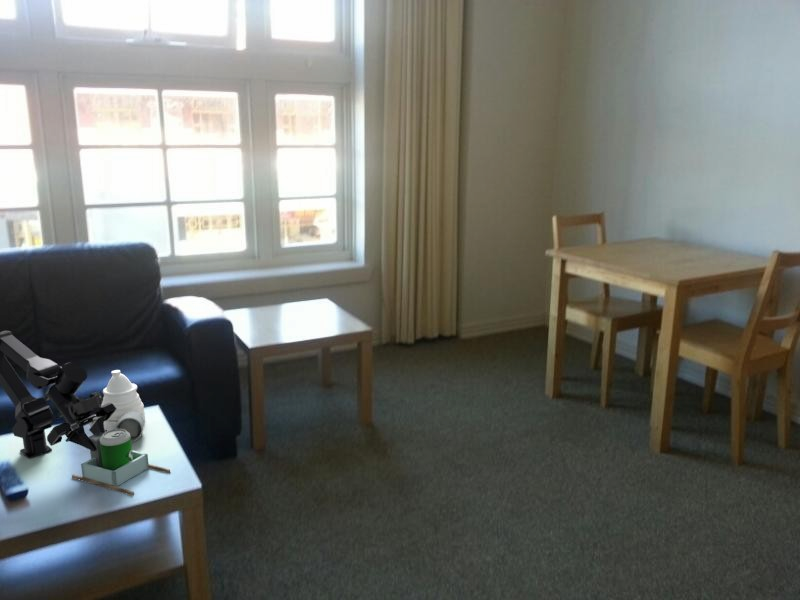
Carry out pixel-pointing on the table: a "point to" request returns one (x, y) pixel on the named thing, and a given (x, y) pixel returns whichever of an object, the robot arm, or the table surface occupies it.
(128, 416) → the ceramic mug
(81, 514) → the table surface
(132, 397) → the honey pot
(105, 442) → the soda can
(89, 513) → the table surface
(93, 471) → the pale green open tray
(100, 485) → the track
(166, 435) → the table surface
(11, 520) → the table surface
